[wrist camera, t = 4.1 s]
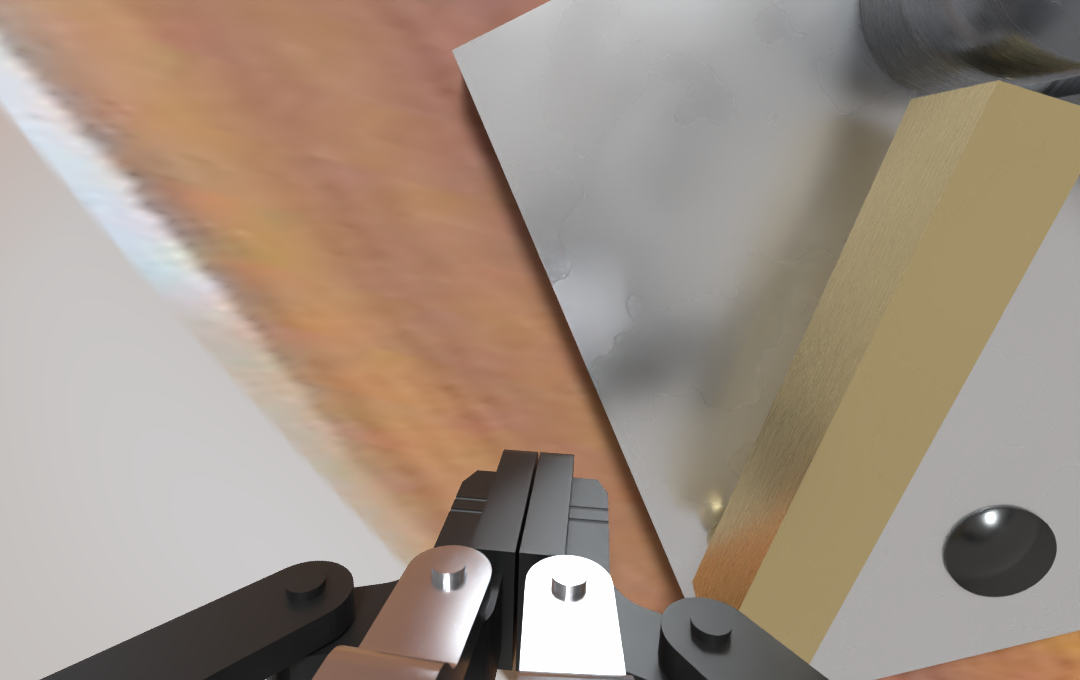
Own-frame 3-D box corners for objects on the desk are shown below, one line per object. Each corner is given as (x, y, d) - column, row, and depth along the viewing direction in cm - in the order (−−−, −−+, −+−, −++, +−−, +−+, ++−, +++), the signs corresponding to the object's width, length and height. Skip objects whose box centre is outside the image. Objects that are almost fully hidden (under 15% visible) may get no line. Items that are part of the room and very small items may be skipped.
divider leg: (880, 105, 12) (997, 80, 8) (960, 130, 12) (1111, 115, 8) (685, 549, 15) (711, 666, 11) (747, 569, 15) (793, 693, 11)
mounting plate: (1401, -411, 10) (2135, -938, 5) (1464, 497, 14) (1916, 670, 9) (462, 58, 13) (386, -2, 9) (726, 683, 17) (774, 880, 13)
